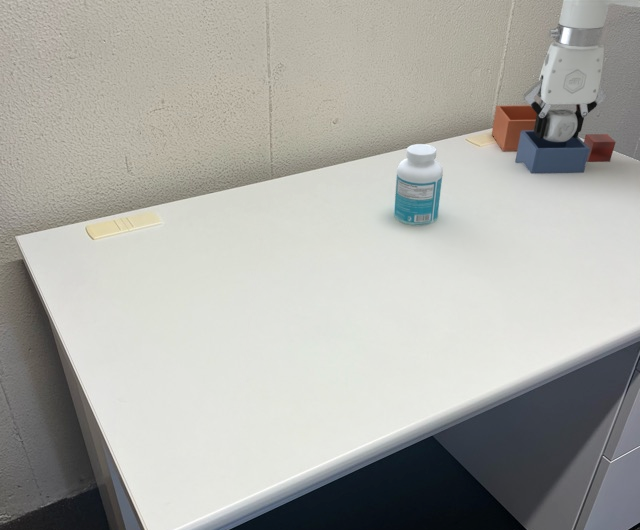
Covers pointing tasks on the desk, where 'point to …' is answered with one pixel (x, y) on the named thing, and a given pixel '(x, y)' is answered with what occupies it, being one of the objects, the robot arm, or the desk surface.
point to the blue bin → (551, 154)
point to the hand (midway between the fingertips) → (556, 134)
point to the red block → (599, 147)
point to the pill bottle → (418, 186)
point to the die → (560, 125)
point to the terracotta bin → (512, 124)
